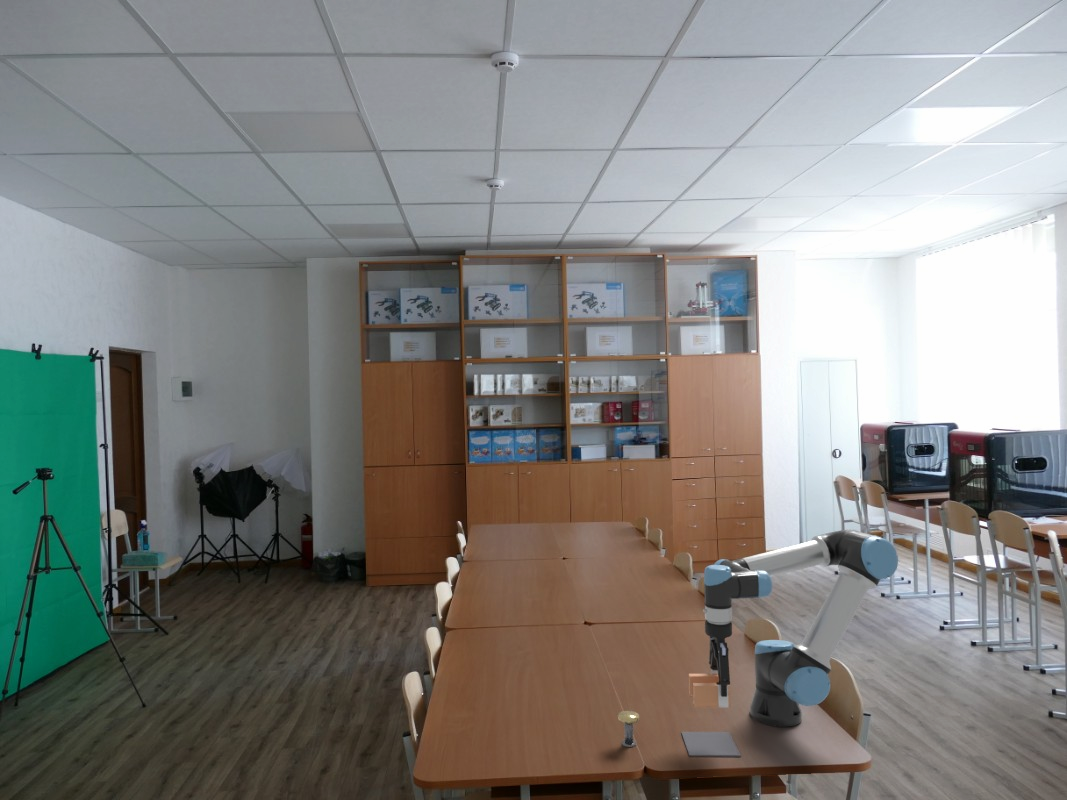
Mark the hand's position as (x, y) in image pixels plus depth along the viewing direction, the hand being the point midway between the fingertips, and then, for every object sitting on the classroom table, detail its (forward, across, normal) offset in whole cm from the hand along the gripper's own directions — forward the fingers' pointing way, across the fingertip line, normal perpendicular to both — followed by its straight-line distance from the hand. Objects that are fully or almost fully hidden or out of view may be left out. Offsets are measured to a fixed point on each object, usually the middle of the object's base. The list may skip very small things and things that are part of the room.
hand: (719, 699), depth 203 cm
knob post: (+13, 0, -26) cm, 29 cm away
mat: (+13, 0, -3) cm, 13 cm away
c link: (0, 0, -3) cm, 3 cm away
